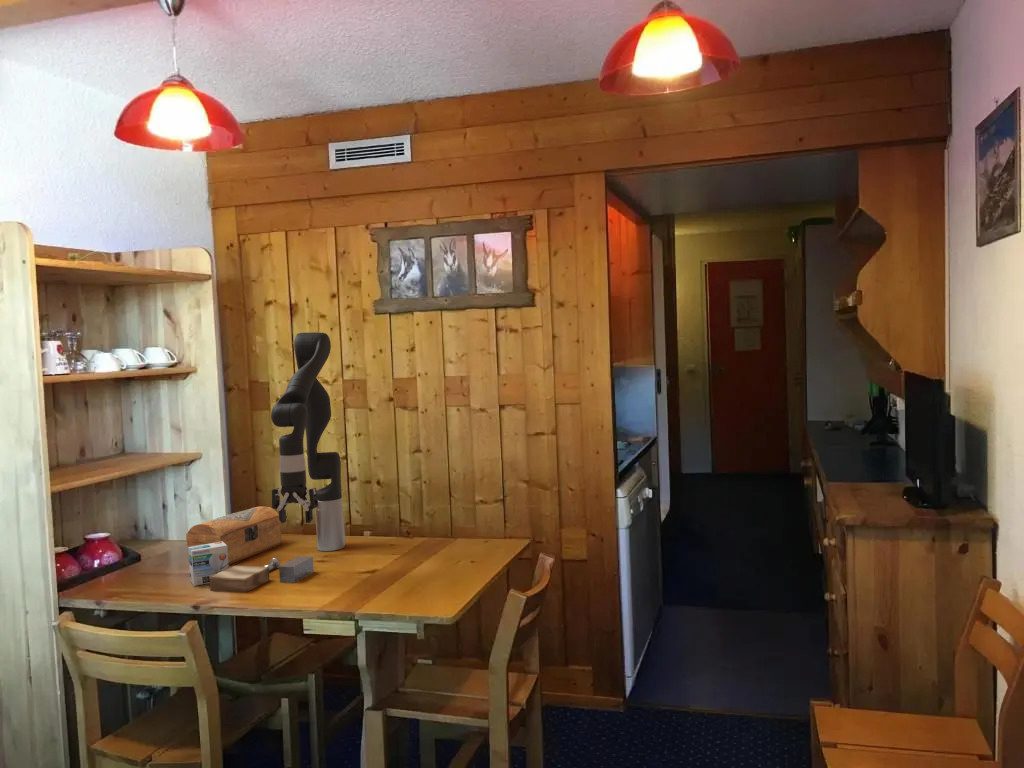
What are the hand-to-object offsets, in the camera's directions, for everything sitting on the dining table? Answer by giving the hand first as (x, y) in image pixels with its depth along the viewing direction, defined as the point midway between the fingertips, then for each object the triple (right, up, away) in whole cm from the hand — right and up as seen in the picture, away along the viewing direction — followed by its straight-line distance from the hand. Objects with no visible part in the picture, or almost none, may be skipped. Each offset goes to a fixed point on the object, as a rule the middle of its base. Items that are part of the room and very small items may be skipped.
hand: (296, 522), depth 246 cm
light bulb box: (-27, -18, +2) cm, 33 cm away
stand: (-15, -18, -4) cm, 24 cm away
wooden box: (-29, -17, +34) cm, 47 cm away
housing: (0, -17, +1) cm, 17 cm away
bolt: (-11, -17, +10) cm, 22 cm away
